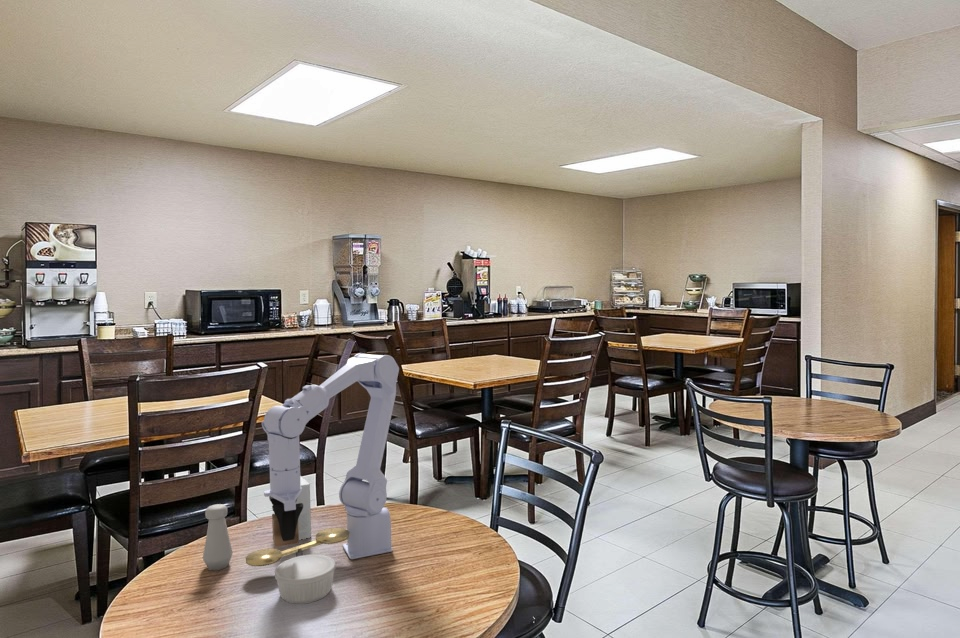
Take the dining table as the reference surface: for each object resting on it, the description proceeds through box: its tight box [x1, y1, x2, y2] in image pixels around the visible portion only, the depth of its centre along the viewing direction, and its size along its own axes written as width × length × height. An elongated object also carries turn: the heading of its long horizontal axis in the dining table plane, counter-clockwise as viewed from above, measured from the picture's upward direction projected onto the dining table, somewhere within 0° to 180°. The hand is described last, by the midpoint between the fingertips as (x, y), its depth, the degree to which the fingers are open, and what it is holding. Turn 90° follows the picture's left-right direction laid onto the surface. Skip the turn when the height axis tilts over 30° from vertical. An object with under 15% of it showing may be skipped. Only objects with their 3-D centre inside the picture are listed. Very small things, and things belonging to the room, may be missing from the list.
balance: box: [245, 527, 349, 567], centre depth 128 cm, size 21×7×6 cm, turn 115°
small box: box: [296, 475, 312, 541], centre depth 146 cm, size 8×6×13 cm
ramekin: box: [274, 554, 336, 605], centre depth 118 cm, size 11×11×5 cm
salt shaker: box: [202, 503, 233, 571], centre depth 130 cm, size 6×6×13 cm
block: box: [271, 513, 300, 548], centre depth 121 cm, size 4×4×5 cm
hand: (286, 535), depth 121 cm, fingers closed on block, 4 cm apart
